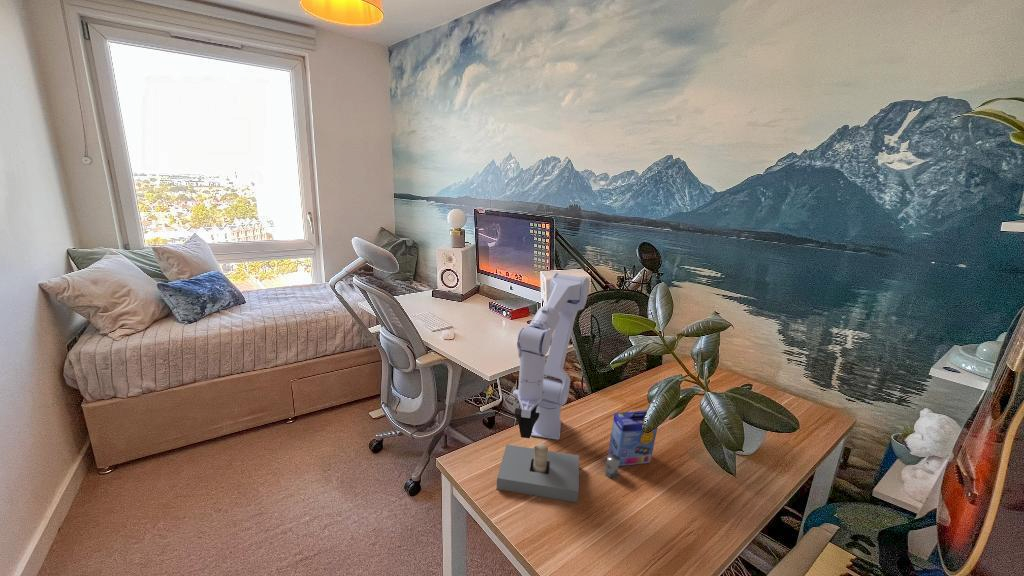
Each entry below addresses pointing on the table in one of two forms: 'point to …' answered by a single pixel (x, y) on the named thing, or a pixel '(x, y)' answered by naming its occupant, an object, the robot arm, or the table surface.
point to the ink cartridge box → (631, 438)
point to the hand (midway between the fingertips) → (527, 427)
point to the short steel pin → (612, 466)
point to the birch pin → (540, 458)
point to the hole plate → (539, 474)
